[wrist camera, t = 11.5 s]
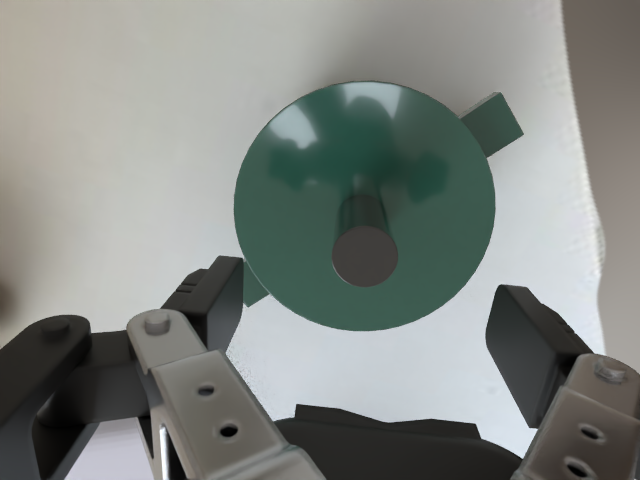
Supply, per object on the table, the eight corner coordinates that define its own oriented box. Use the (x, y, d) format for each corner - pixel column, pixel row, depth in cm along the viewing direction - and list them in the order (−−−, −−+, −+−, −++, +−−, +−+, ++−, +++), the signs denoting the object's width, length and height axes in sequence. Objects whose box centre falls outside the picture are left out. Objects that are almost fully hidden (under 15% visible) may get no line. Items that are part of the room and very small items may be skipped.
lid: (189, 181, 22) (132, 215, 16) (402, 19, 19) (424, -9, 13) (330, 356, 25) (324, 437, 20) (533, 244, 22) (598, 300, 16)
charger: (28, 413, 39) (176, 388, 37) (70, 486, 42) (210, 466, 40) (-14, 455, 35) (152, 430, 33) (38, 533, 38) (192, 514, 36)
